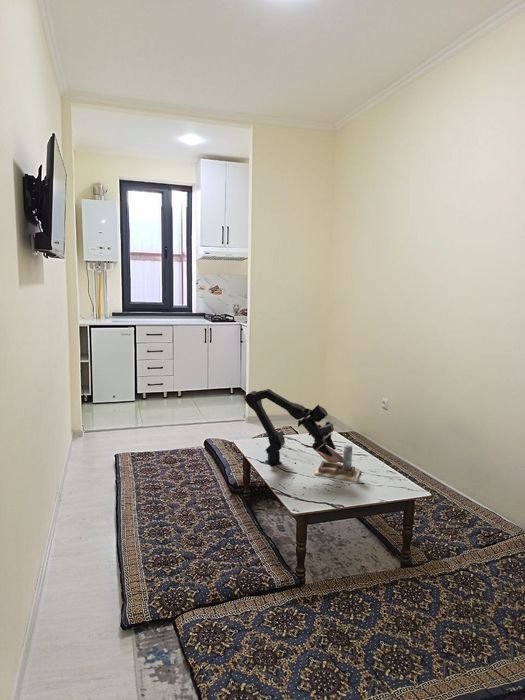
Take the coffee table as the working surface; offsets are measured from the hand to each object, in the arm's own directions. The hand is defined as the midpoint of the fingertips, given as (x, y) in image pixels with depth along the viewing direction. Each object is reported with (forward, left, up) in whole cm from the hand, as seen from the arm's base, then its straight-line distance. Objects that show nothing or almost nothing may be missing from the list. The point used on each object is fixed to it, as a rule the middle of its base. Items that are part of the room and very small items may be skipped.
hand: (333, 452), depth 230 cm
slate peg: (+5, +4, -9) cm, 11 cm away
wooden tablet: (-20, +14, -11) cm, 27 cm away
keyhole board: (+2, +2, -10) cm, 10 cm away
